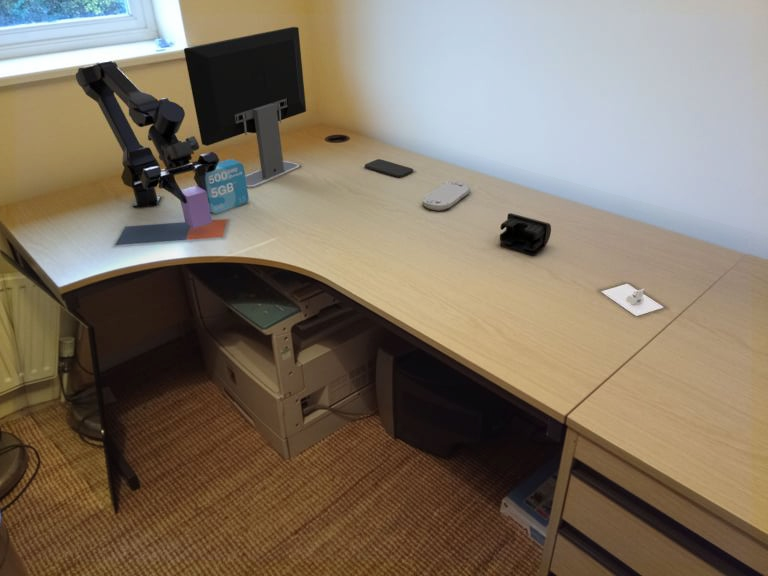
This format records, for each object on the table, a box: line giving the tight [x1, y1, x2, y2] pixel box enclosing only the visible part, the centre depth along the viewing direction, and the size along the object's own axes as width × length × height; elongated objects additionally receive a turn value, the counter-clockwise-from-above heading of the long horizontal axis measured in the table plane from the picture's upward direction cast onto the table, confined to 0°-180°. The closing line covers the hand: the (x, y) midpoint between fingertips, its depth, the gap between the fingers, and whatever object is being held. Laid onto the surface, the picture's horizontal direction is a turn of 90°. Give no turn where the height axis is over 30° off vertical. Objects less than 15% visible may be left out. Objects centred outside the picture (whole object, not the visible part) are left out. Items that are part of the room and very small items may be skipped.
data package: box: [205, 158, 249, 214], centre depth 160 cm, size 12×4×12 cm, turn 135°
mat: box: [114, 218, 228, 246], centre depth 150 cm, size 26×10×1 cm, turn 97°
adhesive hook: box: [625, 288, 645, 305], centre depth 117 cm, size 3×3×3 cm
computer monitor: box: [183, 26, 307, 188], centre depth 173 cm, size 41×8×40 cm, turn 144°
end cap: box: [499, 212, 552, 257], centre depth 138 cm, size 10×7×7 cm
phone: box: [364, 158, 414, 178], centre depth 184 cm, size 7×1×15 cm
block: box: [179, 185, 213, 228], centre depth 146 cm, size 5×5×8 cm
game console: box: [422, 180, 471, 212], centre depth 163 cm, size 18×2×8 cm
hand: (196, 199), depth 144 cm, fingers closed on block, 5 cm apart
